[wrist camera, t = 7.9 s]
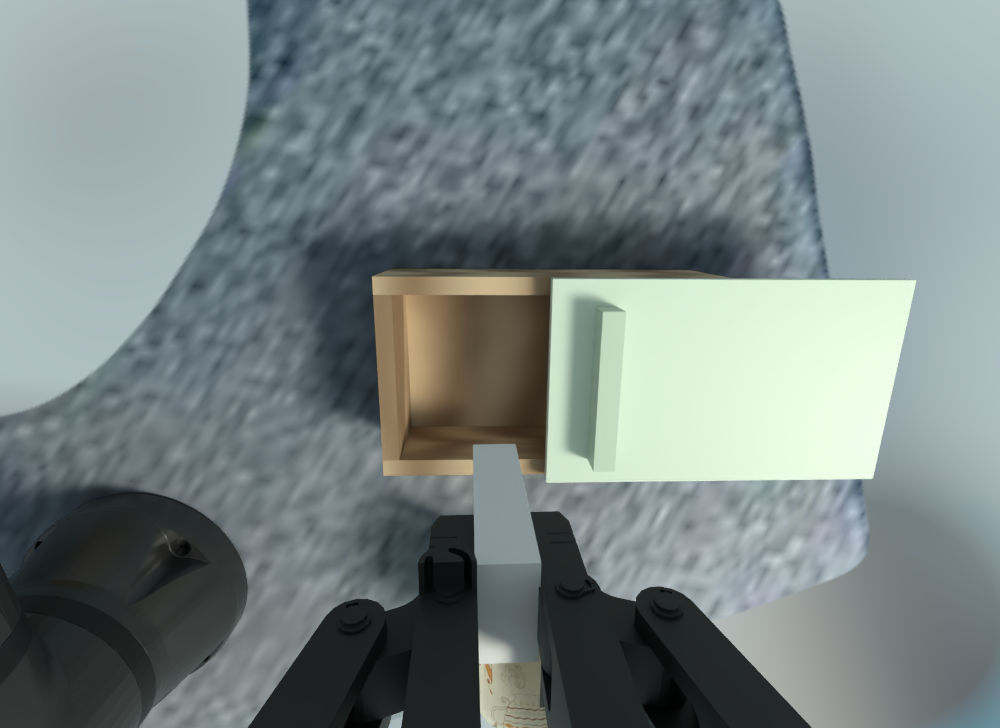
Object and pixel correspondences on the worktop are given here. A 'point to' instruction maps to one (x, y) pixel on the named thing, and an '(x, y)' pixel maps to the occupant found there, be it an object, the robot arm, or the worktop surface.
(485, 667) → the mug
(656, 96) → the worktop surface
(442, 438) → the lid box
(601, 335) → the lid
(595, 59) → the worktop surface
